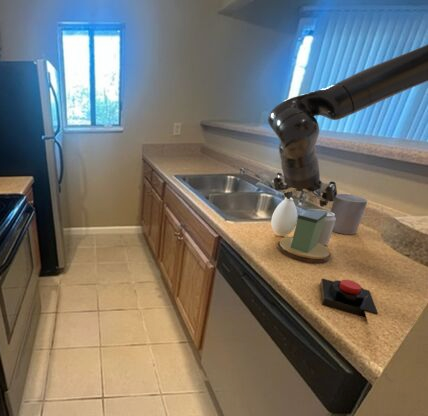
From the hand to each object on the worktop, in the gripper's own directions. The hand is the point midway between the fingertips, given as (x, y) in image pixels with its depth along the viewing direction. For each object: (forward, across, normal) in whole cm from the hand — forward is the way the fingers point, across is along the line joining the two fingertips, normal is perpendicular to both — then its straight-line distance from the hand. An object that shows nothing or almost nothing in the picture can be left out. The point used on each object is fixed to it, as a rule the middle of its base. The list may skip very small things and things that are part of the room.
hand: (305, 200), depth 81 cm
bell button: (+7, -16, +19) cm, 26 cm away
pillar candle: (+46, -3, -15) cm, 48 cm away
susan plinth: (+23, 0, +8) cm, 24 cm away
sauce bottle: (+29, +10, +2) cm, 31 cm away
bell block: (+9, -16, +22) cm, 28 cm away
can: (+32, 0, -1) cm, 32 cm away
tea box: (+22, 0, +6) cm, 23 cm away
